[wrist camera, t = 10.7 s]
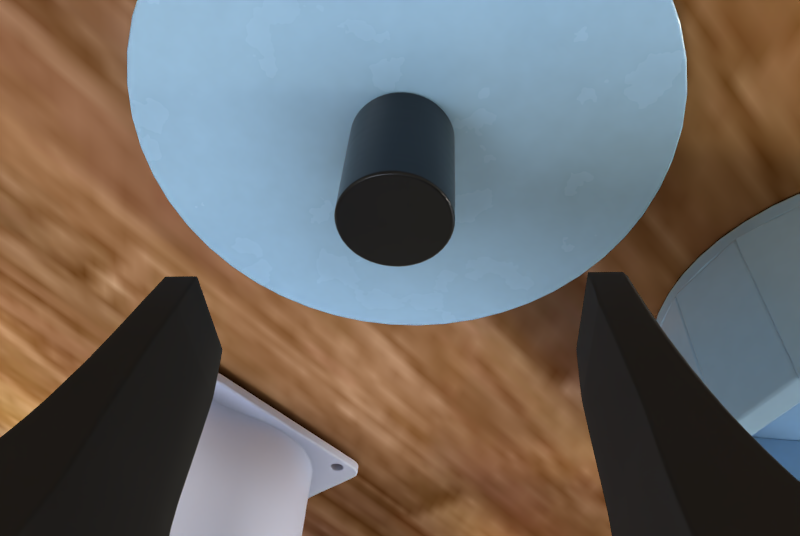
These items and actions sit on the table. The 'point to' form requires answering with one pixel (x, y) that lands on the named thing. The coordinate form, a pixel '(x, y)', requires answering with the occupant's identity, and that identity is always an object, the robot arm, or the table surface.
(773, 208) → the pot
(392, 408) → the table surface
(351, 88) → the lid
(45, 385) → the table surface
